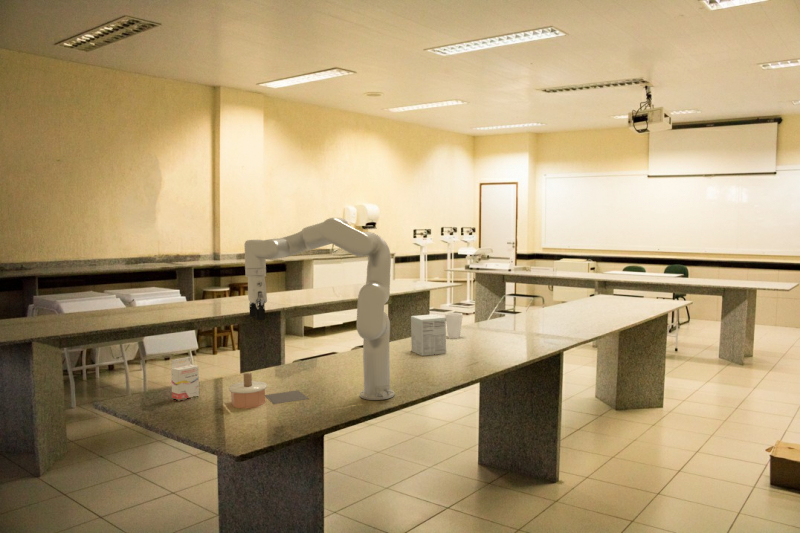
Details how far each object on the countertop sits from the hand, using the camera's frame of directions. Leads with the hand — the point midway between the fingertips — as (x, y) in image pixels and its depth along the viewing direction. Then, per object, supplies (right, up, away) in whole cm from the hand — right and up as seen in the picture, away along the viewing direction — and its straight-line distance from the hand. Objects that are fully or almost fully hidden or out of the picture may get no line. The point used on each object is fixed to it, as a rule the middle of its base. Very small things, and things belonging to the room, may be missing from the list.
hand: (257, 317), depth 234 cm
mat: (+12, -29, -8) cm, 32 cm away
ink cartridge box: (-25, -29, -5) cm, 39 cm away
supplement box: (+68, -23, +68) cm, 98 cm away
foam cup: (+83, -20, +105) cm, 136 cm away
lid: (0, -23, -15) cm, 28 cm away
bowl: (0, -29, -15) cm, 33 cm away
